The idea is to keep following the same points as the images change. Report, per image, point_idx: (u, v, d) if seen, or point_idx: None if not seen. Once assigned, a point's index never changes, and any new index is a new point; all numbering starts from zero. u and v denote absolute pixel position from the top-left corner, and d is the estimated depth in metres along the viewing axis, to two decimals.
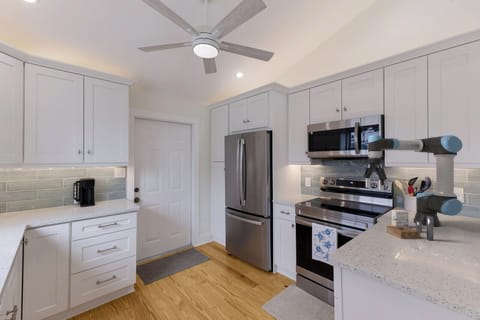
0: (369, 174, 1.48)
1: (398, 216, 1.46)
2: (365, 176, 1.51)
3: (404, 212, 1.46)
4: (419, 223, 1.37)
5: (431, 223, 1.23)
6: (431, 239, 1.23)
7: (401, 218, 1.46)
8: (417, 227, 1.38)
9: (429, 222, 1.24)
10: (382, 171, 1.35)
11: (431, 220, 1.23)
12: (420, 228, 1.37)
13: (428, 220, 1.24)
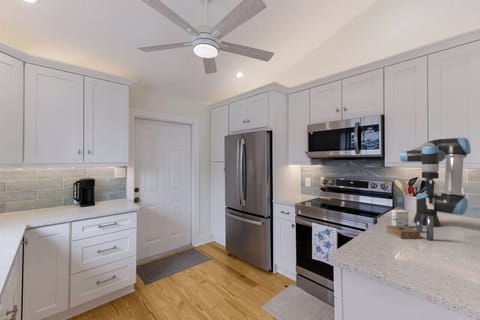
0: None
1: (398, 216, 1.46)
2: (426, 192, 1.31)
3: (404, 212, 1.46)
4: (419, 223, 1.37)
5: (431, 223, 1.23)
6: (431, 239, 1.23)
7: (401, 218, 1.46)
8: (417, 227, 1.38)
9: (429, 222, 1.24)
10: (430, 187, 1.18)
11: (431, 220, 1.23)
12: (420, 228, 1.37)
13: (428, 220, 1.24)
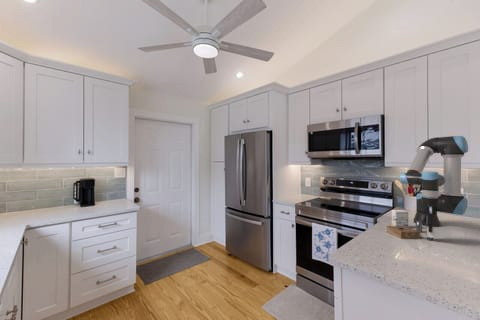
0: None
1: (398, 216, 1.46)
2: None
3: (404, 212, 1.46)
4: (419, 223, 1.37)
5: None
6: (431, 239, 1.23)
7: (401, 218, 1.46)
8: (417, 227, 1.38)
9: None
10: (430, 217, 1.20)
11: None
12: (420, 228, 1.37)
13: None
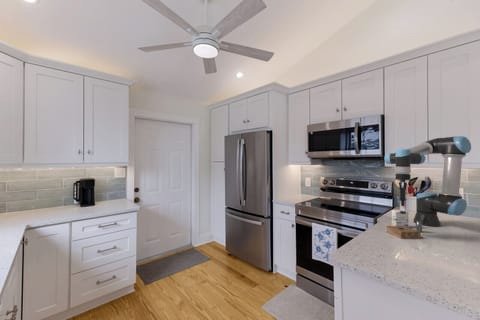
0: None
1: (398, 216, 1.46)
2: None
3: None
4: (419, 223, 1.37)
5: None
6: (403, 212, 1.31)
7: (401, 218, 1.46)
8: (417, 227, 1.38)
9: None
10: (402, 191, 1.28)
11: None
12: (420, 228, 1.37)
13: None
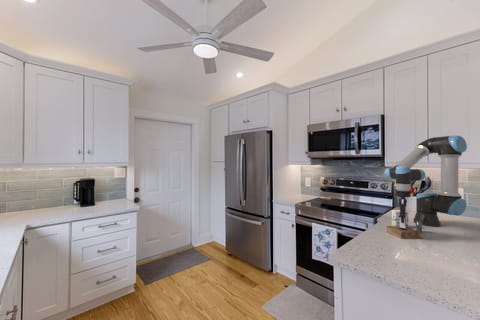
0: None
1: (398, 216, 1.46)
2: None
3: None
4: (419, 223, 1.38)
5: None
6: None
7: None
8: (417, 227, 1.38)
9: None
10: (402, 208, 1.27)
11: None
12: (420, 228, 1.37)
13: None
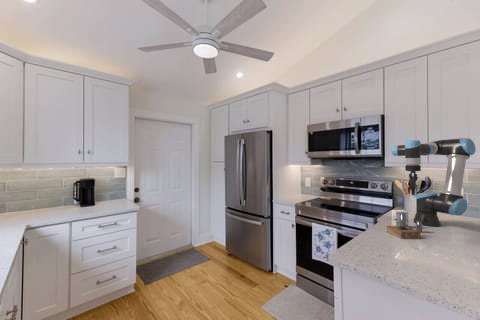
0: None
1: (398, 216, 1.46)
2: None
3: (404, 212, 1.46)
4: (419, 223, 1.37)
5: (403, 219, 1.31)
6: None
7: None
8: (417, 227, 1.38)
9: (402, 218, 1.31)
10: (412, 180, 1.26)
11: (403, 216, 1.31)
12: (420, 228, 1.37)
13: (401, 216, 1.32)
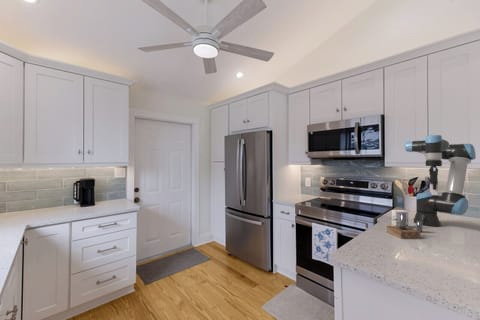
0: None
1: (398, 216, 1.46)
2: (430, 180, 1.38)
3: (404, 212, 1.46)
4: (419, 223, 1.38)
5: (404, 219, 1.31)
6: None
7: None
8: (417, 227, 1.39)
9: (402, 218, 1.31)
10: (434, 174, 1.25)
11: (404, 216, 1.31)
12: (420, 228, 1.37)
13: (401, 217, 1.32)
